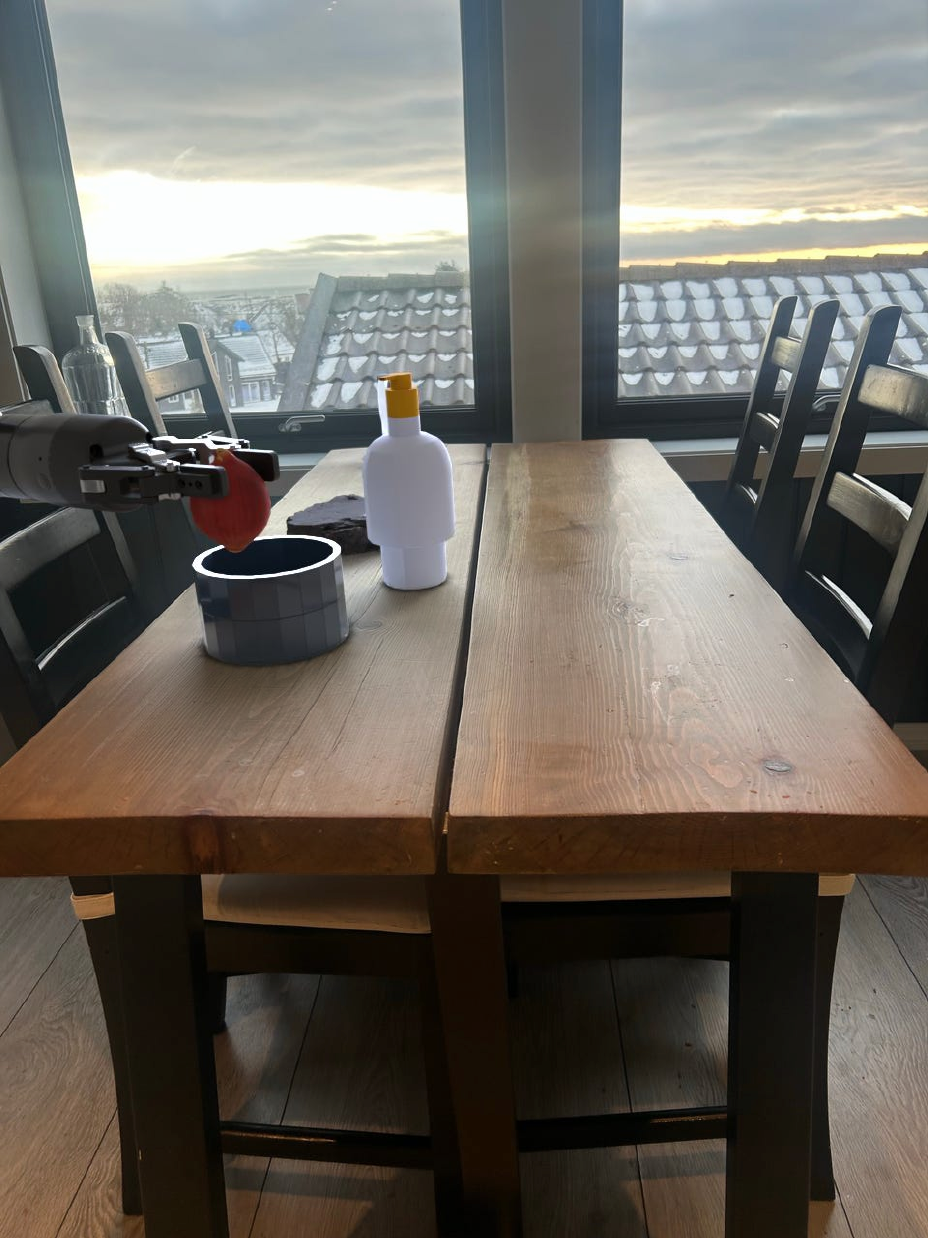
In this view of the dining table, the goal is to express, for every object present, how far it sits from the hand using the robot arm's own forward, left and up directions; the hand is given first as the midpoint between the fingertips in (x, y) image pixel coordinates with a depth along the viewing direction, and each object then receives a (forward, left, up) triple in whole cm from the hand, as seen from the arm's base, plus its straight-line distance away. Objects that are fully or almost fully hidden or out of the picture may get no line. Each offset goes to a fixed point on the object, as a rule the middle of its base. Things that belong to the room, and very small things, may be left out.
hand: (250, 474), depth 72 cm
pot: (+12, +22, -22) cm, 34 cm away
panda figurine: (+77, +89, -22) cm, 120 cm away
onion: (-1, +2, -6) cm, 7 cm away
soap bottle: (+33, +26, -22) cm, 48 cm away
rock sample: (+38, +47, -22) cm, 65 cm away
